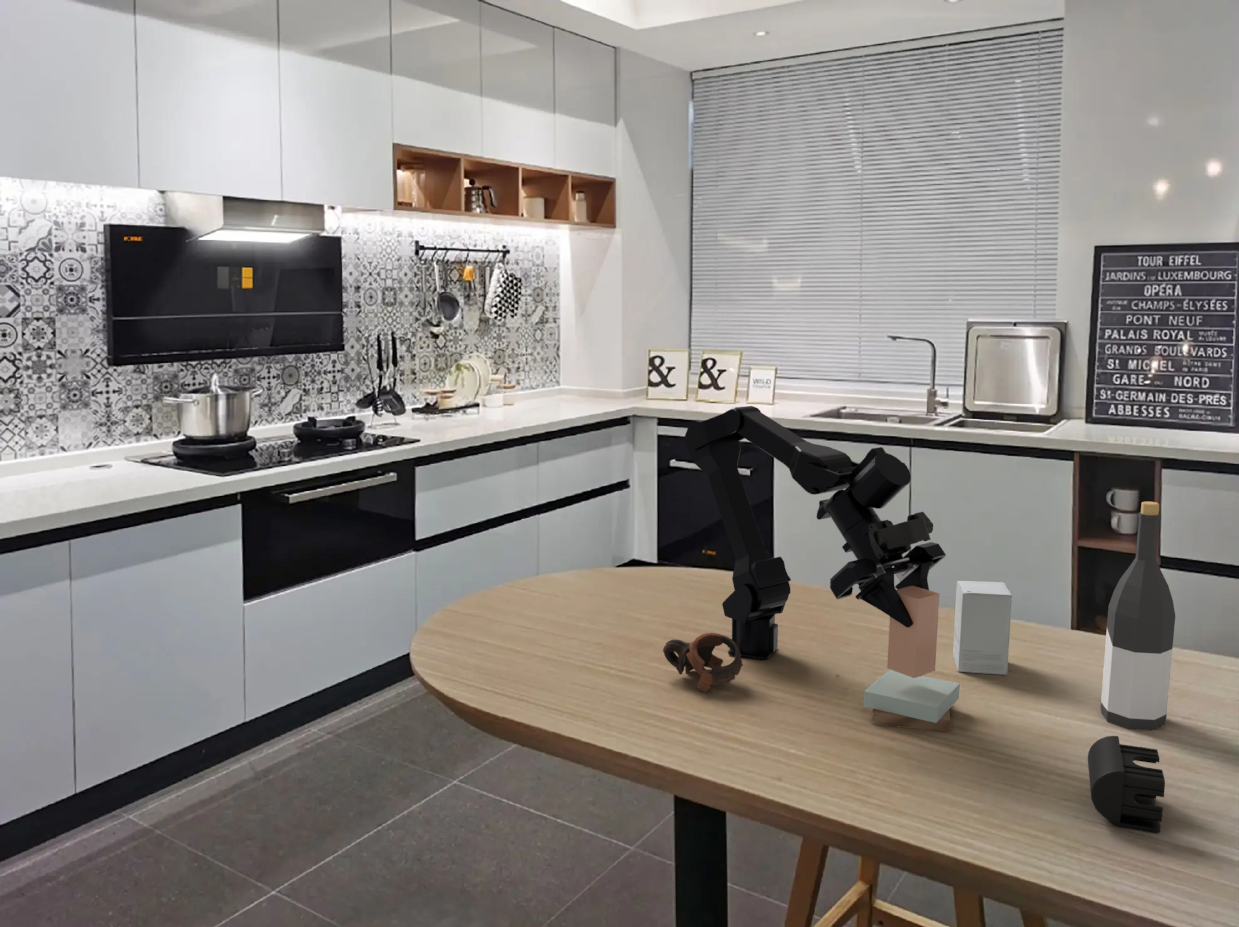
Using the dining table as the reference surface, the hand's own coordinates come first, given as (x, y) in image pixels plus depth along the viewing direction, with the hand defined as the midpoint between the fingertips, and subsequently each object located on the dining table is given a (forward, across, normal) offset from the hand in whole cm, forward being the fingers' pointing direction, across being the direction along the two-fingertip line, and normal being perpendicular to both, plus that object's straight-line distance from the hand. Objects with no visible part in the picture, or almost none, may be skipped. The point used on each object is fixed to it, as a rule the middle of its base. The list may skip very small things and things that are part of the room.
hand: (921, 622), depth 142 cm
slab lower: (+9, 0, +11) cm, 14 cm away
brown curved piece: (-10, -14, +30) cm, 34 cm away
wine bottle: (+22, +22, -4) cm, 32 cm away
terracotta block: (+4, 0, +6) cm, 7 cm away
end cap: (+31, -3, -12) cm, 33 cm away
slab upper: (+8, 0, +9) cm, 12 cm away
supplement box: (+5, +24, +14) cm, 28 cm away
